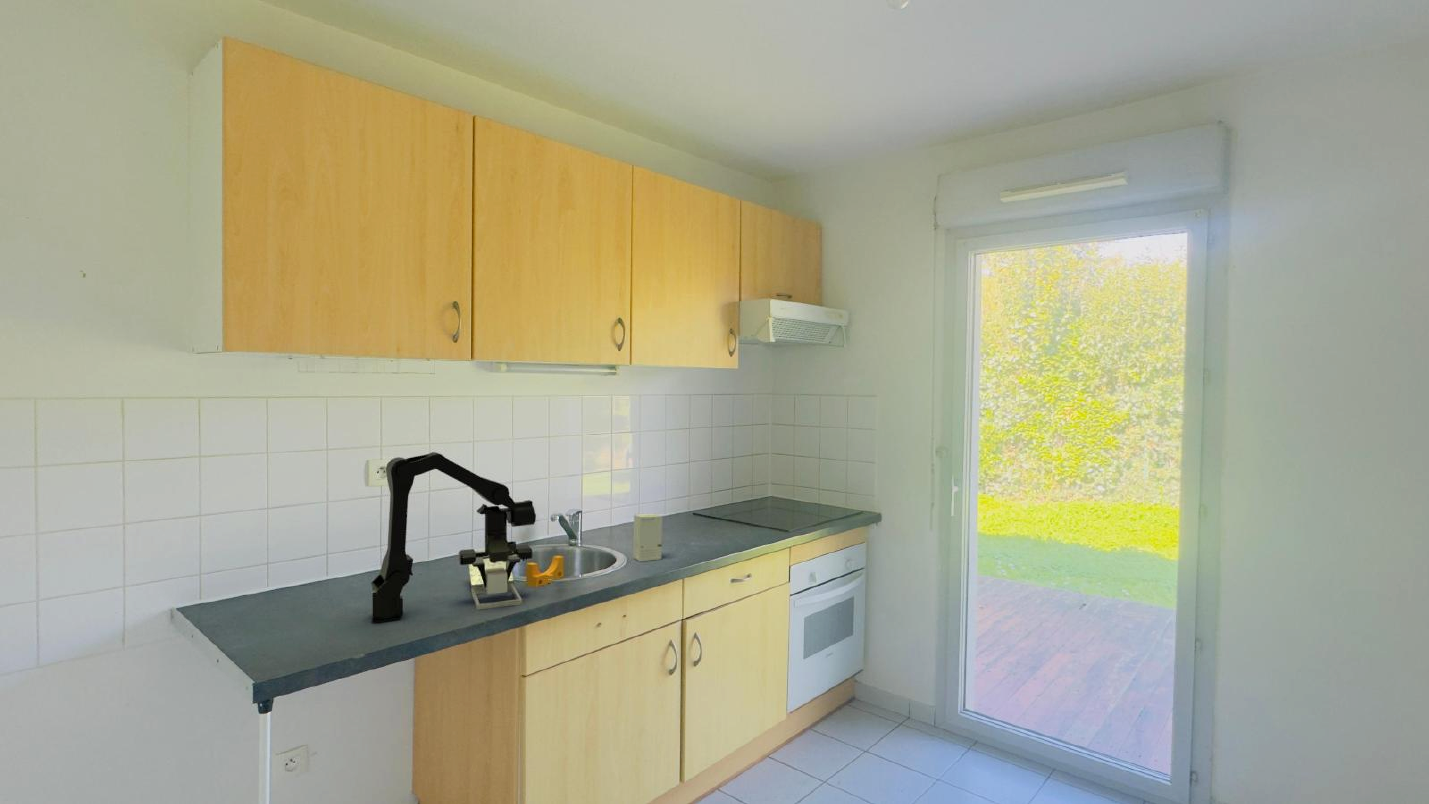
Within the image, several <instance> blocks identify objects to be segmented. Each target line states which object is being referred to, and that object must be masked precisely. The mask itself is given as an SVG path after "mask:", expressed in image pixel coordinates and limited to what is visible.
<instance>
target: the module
mask: <svg viewBox="0 0 1429 804" xmlns="http://www.w3.org/2000/svg"><path fill="white" fill-rule="evenodd" d="M485 573H486V581H487V585H486V587H485V589H486V591H487V593H486V594H487V595H494V594H500V593H501V594H502V593H503V594H504V593H508V591H507V572H506V571H505V569H504V567H501V568H491V569H485Z"/></svg>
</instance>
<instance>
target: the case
mask: <svg viewBox="0 0 1429 804" xmlns="http://www.w3.org/2000/svg"><path fill="white" fill-rule="evenodd" d="M475 552H485V549H480V550H479V549H478V550H475ZM483 562H484V564H485V569H491V568H501V567H504V569H506V562H503V561H500V562H496V563H492V562H490V560H489V558H488V559H483ZM468 572H469V579H470V580H469V581H470V587H471V590H470V591H471V597H472V600H473V603H474V604H475V605H474V606H475V609H476V610H477V611H478V610H484V609H485V610H486V609H493V608H502V607H509V606H517V605H518V606H519V605H522V604H523V600H522V598H521V595H520V594H519V592H518V591H517V589H516V587H515V581H514V576H513V571H512V572H511V575H510V578H509V581H508V583H507V592H508V591H511V592H512V595H513V596H514V598H515V599H509V600H503V601H502V600H501V601H494V602H487V603H485V602H484V603H480V601H479V599H478V596H477V595H481V594H482V595H484V594H488V593H487V591H486V589H485V586H484V583H483V580H482V577H481V574H480V572H479V570H478V568H477V567H473V565H472V564H468Z"/></svg>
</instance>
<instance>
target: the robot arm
mask: <svg viewBox="0 0 1429 804" xmlns="http://www.w3.org/2000/svg"><path fill="white" fill-rule="evenodd" d="M433 470H437V471H439V472H440V473H443V474H445V475H446V476H448V477H450V478H452V479H454V480H455V481H458V482H460V484H461V483H462V484H463V485H466V486H467V487H469V488H470V489H471V490H473V491H474V493H476V494H477V495H479V496H480V497H481V498H482V499H484V500H485V501H486V502H487V503H490V504H492V505H491V506H488V505H487V504H484V503H482V505H481V506H480V507H479V508H478V509H477V510H476V513H478V514H480V515H484V550H485V552H475V551H476V550H475V549H474V548H470V549H461V550H460V551H459V552H458V562H459V565H460V566H466V565H468V566H469V564H472V565H473V567H477V568H478V570H479V572H480V574H481V577H482V580H483V583H484V586H485V587H486V585H487V581H486V573H485V564H484V562H483V559H488V558H489V560H490V562H492V563H496V562H500V561H503V562H506V569H505V571H506V572H507V583H508V581H509V578H510V575H511V572H512V573H513V569H514V568H515V566H516V565H517V564H519V563H520V562H521V560H529V559H533V549H532V547H530V545H528V544H519V545H517V543H516V541H509V540H508V524H510V525H511V527H513V528H514V527H515V528H516V527H523V526H533V525H534V524H535V523H536V519H537V514H536V509H535V507H534V505H533V504H534V503H533V501H532V500H530V499H529V500H523V501H514V500H513V499H512V497H511V496H510V489H509V487H508V486H506V485H505V484H502V483H500V482H497V481H496V480H491V479H488V478H485V477H483V476H480V475H477V474H476V473H475V472H472V471H471V470H469V469H467V468H466V467H463V466H461V465H459V464H458V463H456V462H454V461H452V460H451V459H448V458H447V457H445V456H444V455H443V454H441V453H440V452H436V451H432V452H430V453H427V454H423V455H422V454H421V455H417V456H416V455H415V456H412V457H408V458H405V457H400V456H399V457H394V458H392V459H391V460H390V461H388V462H387V464H386V468H385V473H386V480H387V485H388V488H389V494H390V496H389V512H388V513H389V516H388V517H389V518H388V532H387V549H386V551H385V555H384V556H383V560H382V563H381V568H380V572H379V574H378V575H377V576H376V577H375V578H374V579H373V580H372V581H371V582H370V586H371V588H372V590H373V591H374V592H373V593H372V594H371V595H372V596H371V597H372V599H371V600H372V603H371V604H372V606H371V607H372V609H371V610H372V613H371V614H372V615H371V623H373V624H374V623H383V622H391V621H399V620H400V621H401V619H402V616H403V614H404V598H403V597H404V596H403V595H401V593H402V592H403V591H402V590H403V588H404V587H405V586H406V585H407V584H408V583H409V582H410V579H411V576H413V575H414V574H413V569H412V568H413V563H414V559H413V558H412V556H410V555H409V554H408V553H407V552H406V547H407V546H406V544H407V526H408V524H407V523H408V509H409V508H408V506H409V495H410V492H411V490H412V487H413V484H414V480H415V477H416V476H420V475H423V474H425V473H427V472H430V471H433ZM500 506H503V507H504V508H502V507H501V508H500Z"/></svg>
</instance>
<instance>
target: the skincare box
mask: <svg viewBox="0 0 1429 804" xmlns="http://www.w3.org/2000/svg"><path fill="white" fill-rule="evenodd" d="M662 535H663V515H661V514H658V513H640V514H638V513H637V514H634V515H633V553H632V554H633V556H632V557H633V559H635V560H636V561H637V562H639V563H641V562H649V561H656V560H657V561H658V560H661V559H662V547H663V546H662V543H663V542H662V539H663V536H662Z"/></svg>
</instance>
